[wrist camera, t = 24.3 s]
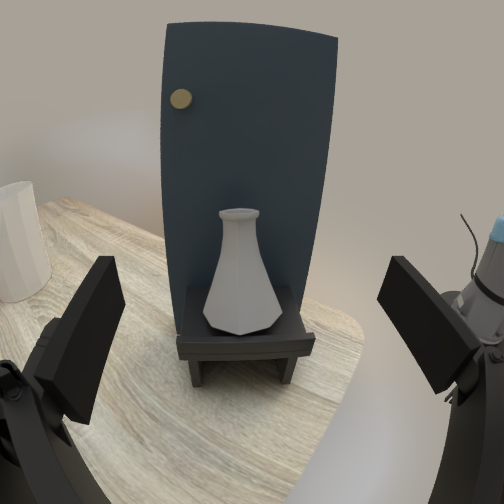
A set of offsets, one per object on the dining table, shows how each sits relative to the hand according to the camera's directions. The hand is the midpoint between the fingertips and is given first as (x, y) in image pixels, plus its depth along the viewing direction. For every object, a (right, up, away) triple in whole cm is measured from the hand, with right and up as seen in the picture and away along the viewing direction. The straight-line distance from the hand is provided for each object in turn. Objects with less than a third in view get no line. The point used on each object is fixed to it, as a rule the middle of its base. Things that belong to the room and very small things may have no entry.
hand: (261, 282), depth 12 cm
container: (-46, -5, +27) cm, 53 cm away
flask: (-1, -5, +14) cm, 15 cm away
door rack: (-2, -12, +20) cm, 23 cm away
